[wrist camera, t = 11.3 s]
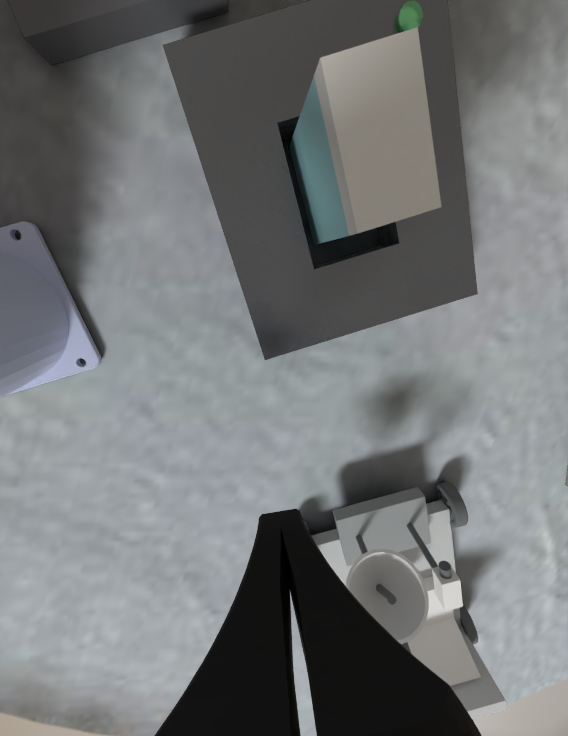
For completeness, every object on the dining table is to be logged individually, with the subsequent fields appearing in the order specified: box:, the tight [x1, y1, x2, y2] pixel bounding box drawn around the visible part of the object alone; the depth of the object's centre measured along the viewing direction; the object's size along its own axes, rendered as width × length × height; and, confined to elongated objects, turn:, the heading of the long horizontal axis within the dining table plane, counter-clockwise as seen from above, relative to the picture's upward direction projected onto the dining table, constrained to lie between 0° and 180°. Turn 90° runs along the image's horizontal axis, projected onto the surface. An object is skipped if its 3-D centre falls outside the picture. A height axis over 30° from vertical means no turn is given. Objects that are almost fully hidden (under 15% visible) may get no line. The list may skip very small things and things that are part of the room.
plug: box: [289, 27, 441, 245], centre depth 14 cm, size 3×5×8 cm, turn 16°
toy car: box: [304, 482, 506, 719], centre depth 22 cm, size 18×10×12 cm
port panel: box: [163, 0, 477, 360], centre depth 17 cm, size 12×14×3 cm
